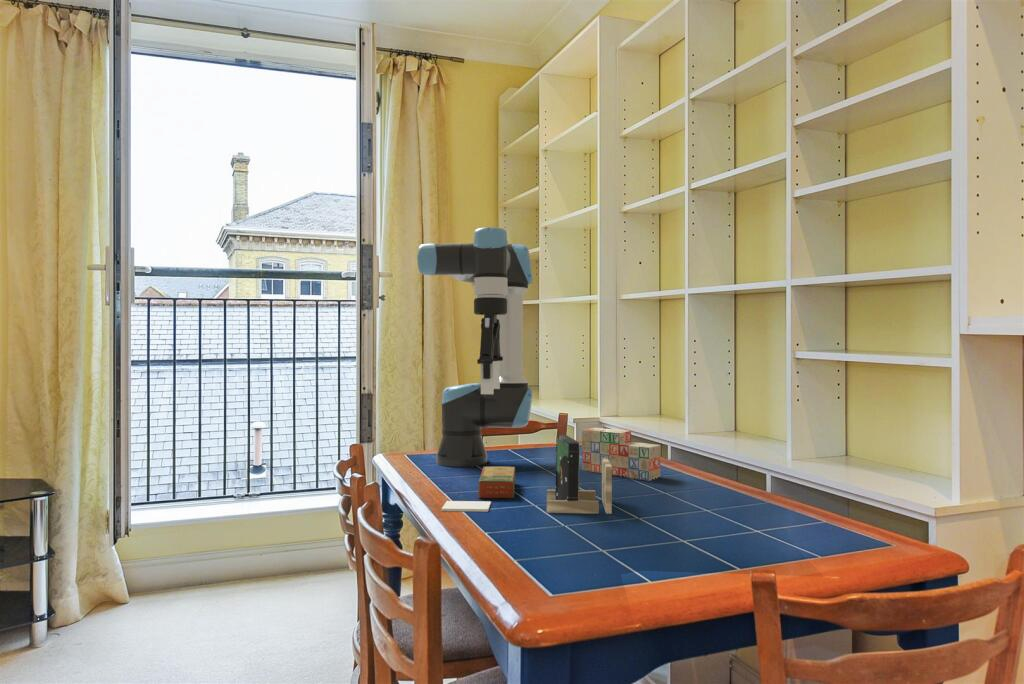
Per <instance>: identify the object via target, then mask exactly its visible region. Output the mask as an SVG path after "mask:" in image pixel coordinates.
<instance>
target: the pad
mask: <svg viewBox="0 0 1024 684" xmlns="http://www.w3.org/2000/svg"><path fill="white" fill-rule="evenodd" d="M491 505H492V501H489V500H487V501H483V500H482V501H478V500H477V501H475V500H471V501H469V500H446V502H445V503H444V504H443V506H442V507H441V512H472V513H473V512H477V513H478V512H483V513H486V512H487V513H488V512H489V511H490V507H491Z"/></svg>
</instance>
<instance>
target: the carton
mask: <svg viewBox="0 0 1024 684" xmlns="http://www.w3.org/2000/svg"><path fill="white" fill-rule="evenodd" d="M515 484H516V467H515V466H483V467H482V470H481V473H480V477H479V479H478V492H477V495H478V497H477V498H478V499H514V498H515V487H516V486H515Z"/></svg>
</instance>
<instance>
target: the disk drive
mask: <svg viewBox="0 0 1024 684" xmlns="http://www.w3.org/2000/svg"><path fill="white" fill-rule="evenodd" d="M555 446H556V449H555V450H556V451H555V453H556V454H555V455H556V457H555V490H556V494H555V495H556V500H567V501H578V500H579V490H580V466H581V465H580V464H581V463H580V461H581V459H580V458H581V451H580V442H579V441H578V440H576V439H574V438H572V437H570V436H569V435H566V434H559V435H556V445H555Z"/></svg>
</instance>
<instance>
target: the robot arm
mask: <svg viewBox="0 0 1024 684" xmlns="http://www.w3.org/2000/svg"><path fill="white" fill-rule="evenodd" d="M416 256H417V257H416V259H417V267H418V271H419V273H420V274H421V275H423V276H449V277H450V278H452V279H453V280H457V281H461V282H465V283H470V285H471V287H473V295H474V296H476V297H475V298H474V300H473V313H474V315H477V316H483V317H482V318H481V321H480V322H481V323H480V330H481V331H480V332H481V333H480V348H479V357H478V358H479V359H478V358H477V361H476V363H477V365H480V382H475V383H473V382H472V383H463V384H460V385H459V384H458V385H453V386H447V387H445V388H444V389H443V390H442V395H441V396H442V397H441V439H440V443H439V445H438V450H437V452H436V456H435V461H436V462H435V463H436V464H437V465H440V466H443V467H454V468H456V467H457V468H466V467H467V468H468V467H477V466H482V465H486V464H487V463H488V454H487V450H486V446H485V444H484V440H483V437H482V428H500V429H501V428H502V429H503V428H507V429H509V428H510V429H514V428H516V429H517V428H525V427H527V425H528V424H529V421H530V416H531V409H532V402H533V393H534V390H533V388H531V387H529V386H528V385H529V384H528V383H529V381H528V380H526V378H525V377H524V370H523V369H524V364H523V363H524V362H523V361H524V359H523V358H524V356H523V355H524V352H523V351H524V346H523V345H524V341H523V340H524V336H523V335H524V331H523V330H524V320H523V319H524V305H523V304H524V295H525V294H526V292H528V291H529V285H531V284H533V283H534V279H533V271H532V265H531V257H530V256H531V255H530V251H529V247H527V246H526V245H525V244H517V243H516V244H514V243H508V234H507V231H506V229H504V228H502V227H494V226H493V227H492V226H489V227H487V226H486V227H480V228H477V229H475V230H474V232H473V242H472V243H471V242H470V243H469V242H468V243H465V242H464V243H435V242H434V243H433V242H431V243H422V244H420V245H419V246H418V249H417V255H416Z"/></svg>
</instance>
